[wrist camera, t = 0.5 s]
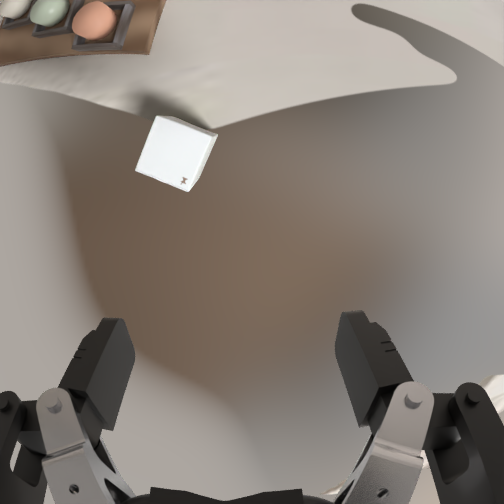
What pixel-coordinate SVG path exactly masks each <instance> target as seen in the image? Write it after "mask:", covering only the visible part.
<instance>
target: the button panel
mask: <svg viewBox="0 0 504 504" xmlns="http://www.w3.org/2000/svg"><path fill="white" fill-rule="evenodd" d="M36 1H37V0H33V1H32V3H31V5H30V7H29V9H28V10H27V11H26V13H25V14H24V15H22V16H21V17H20V18H18V19H12V18H8V17H3V20H2V23H1V26H0V67H1V66H5V65H10V64H15V63H20V62H26V61H32V60H38V59H46V58H54V57H63V56H75V55H91V54H145V55H149V53H150V49H151V46H152V42H153V39H154V35H155V32H156V29H157V26H158V23H159V20H160V17H161V14H162V11H163V8H164V5H165V2H166V0H68V1H69V4H70V6H69V10H68V12H67V14H66V16H65V17H64V18H63V19H62V20H61V21H60V22H59V23H58V24H56V25H55V26H52V27H46V26H43V25H40V24H37V23H34V22H32V21H31V19H30V12H31V9H32V7H33V5H34V4H35V3H36ZM94 1H100V2H103V3H104V4H105V5H107V6H108V7H109V8H111V9H112V10H113V11H114V12H115V13H116V15H117V23H116V26H115V28H114V29H113V31H112V32H111V33H110V34H109V35H108V36H106V37H105V38H103V39H101V40H98V41H91V40H88V39H86V38H84V37H82V36H79V35H77V34H75V33H74V31H73V29H72V22H73V19H74V17H75V15H76V13H77V12H78V11H79V10H80V9H81V8H82V7H83V6H84V5H86V4H88V3H90V2H94Z"/></svg>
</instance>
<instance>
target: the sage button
mask: <svg viewBox="0 0 504 504" xmlns="http://www.w3.org/2000/svg"><path fill="white" fill-rule="evenodd" d="M69 6H70V4H69V1H68V0H37V1H36V3H35V4H34V5H33V7H32V9H31V12H30V19H31V21H32V22H34V23H37V24H40V25H43V26H46V27H52V26H55V25H56V24H58V23H59V22H60V21H61V20H62V19H63V18H64V17H65V16H66V14H67V12H68V10H69Z"/></svg>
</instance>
